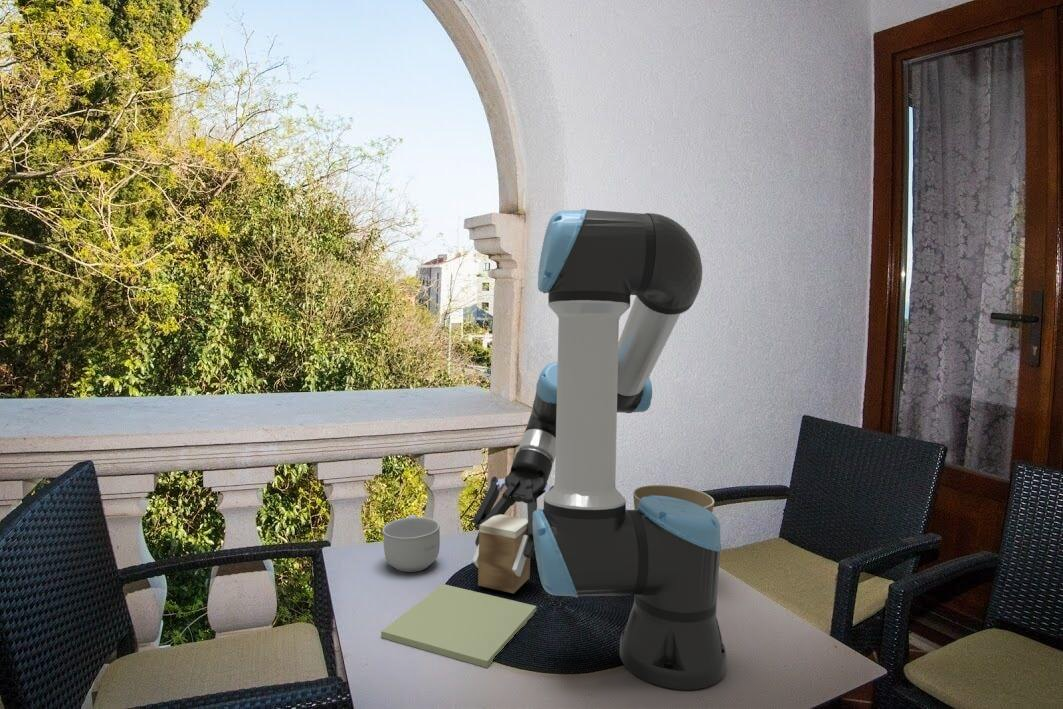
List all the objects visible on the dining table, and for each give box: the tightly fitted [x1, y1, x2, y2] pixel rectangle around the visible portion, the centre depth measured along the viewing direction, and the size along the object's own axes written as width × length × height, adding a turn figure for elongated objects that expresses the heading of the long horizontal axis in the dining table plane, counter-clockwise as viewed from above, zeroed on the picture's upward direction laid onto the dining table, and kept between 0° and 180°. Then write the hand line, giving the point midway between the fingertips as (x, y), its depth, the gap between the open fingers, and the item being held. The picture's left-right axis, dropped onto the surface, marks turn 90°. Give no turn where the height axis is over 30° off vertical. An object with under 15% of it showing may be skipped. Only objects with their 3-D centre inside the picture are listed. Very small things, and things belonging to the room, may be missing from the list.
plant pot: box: [632, 484, 715, 513], centre depth 121 cm, size 15×15×16 cm
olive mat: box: [380, 583, 537, 668], centre depth 102 cm, size 18×18×1 cm
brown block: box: [477, 514, 531, 594], centre depth 115 cm, size 7×7×11 cm
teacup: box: [381, 514, 441, 573], centre depth 124 cm, size 14×11×8 cm
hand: (496, 568), depth 112 cm, fingers closed on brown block, 7 cm apart
